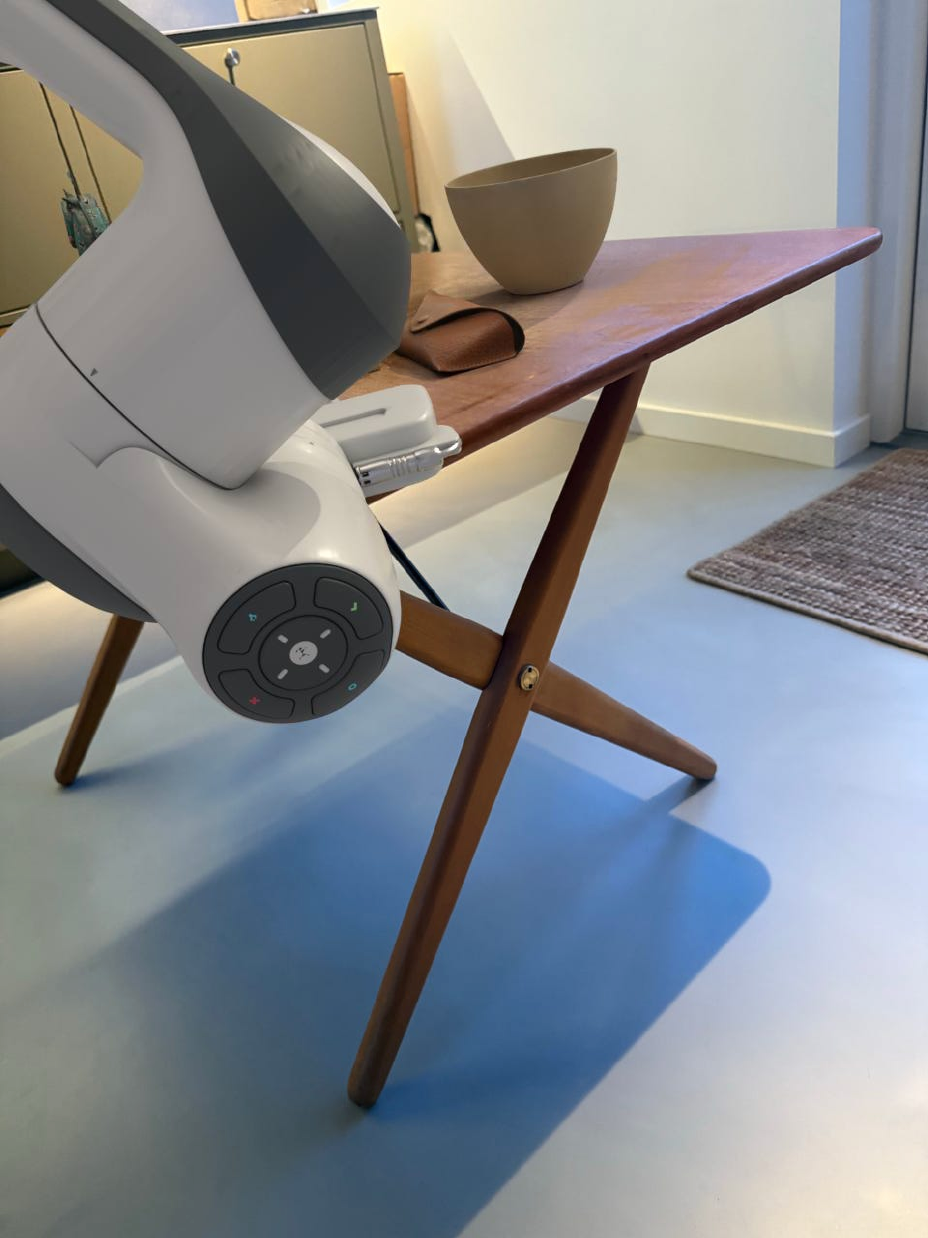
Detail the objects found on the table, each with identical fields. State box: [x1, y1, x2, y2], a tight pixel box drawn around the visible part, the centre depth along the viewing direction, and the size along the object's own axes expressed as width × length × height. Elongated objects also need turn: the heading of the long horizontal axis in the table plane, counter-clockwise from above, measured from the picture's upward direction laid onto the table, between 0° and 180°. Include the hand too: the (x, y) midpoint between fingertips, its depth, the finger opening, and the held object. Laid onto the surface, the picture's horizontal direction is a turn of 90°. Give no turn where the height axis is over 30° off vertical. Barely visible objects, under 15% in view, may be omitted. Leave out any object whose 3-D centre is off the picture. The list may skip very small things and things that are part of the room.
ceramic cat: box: [60, 171, 112, 257], centre depth 132 cm, size 20×6×20 cm, turn 23°
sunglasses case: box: [394, 289, 526, 373], centre depth 92 cm, size 18×7×7 cm
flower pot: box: [443, 147, 618, 296], centre depth 106 cm, size 18×18×12 cm
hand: (253, 429), depth 61 cm, fingers open, 8 cm apart
